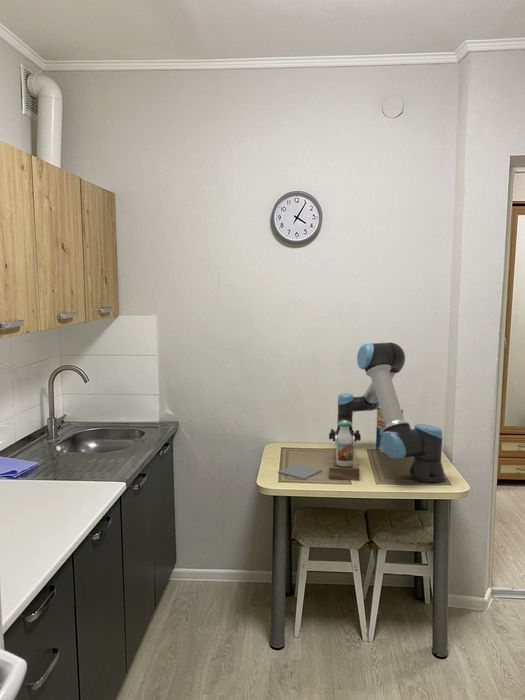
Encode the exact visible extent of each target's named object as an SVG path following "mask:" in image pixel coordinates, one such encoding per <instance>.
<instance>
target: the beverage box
mask: <svg viewBox="0 0 525 700" xmlns="http://www.w3.org/2000/svg"><path fill="white" fill-rule="evenodd" d="M401 411H402V414H403V415H404V410H403V409H401ZM384 428H385V423H384V420H383V417H382V413H381V410H380V407H379V408H377V409H376V431H375V433H376V434H375V435H376V437H375V451H376V450H378V451H377V452H379V451H380V453H382V452H384V450H383V448H382V445H381V441H382V440H381V436H382V434H383V433H384V432H383V429H384ZM383 454H386V453H385V452H384V453H383Z"/></svg>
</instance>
